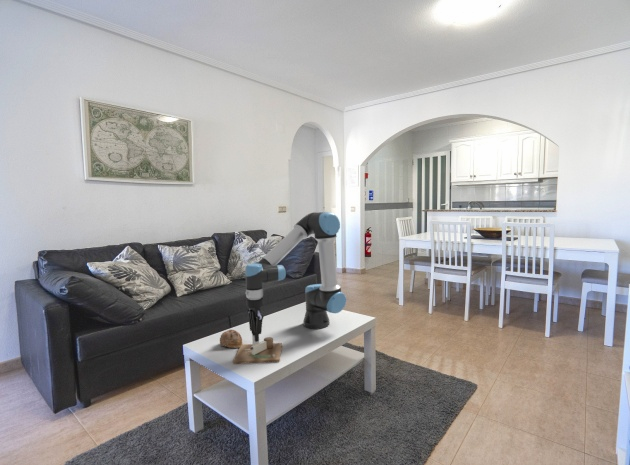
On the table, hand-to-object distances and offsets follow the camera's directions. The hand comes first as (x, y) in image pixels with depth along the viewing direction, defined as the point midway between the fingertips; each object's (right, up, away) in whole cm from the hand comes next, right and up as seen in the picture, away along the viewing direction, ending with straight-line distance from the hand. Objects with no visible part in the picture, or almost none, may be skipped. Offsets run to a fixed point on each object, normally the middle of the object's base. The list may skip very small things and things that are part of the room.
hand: (255, 347), depth 153 cm
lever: (+3, -2, +1) cm, 3 cm away
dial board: (+2, -3, 0) cm, 3 cm away
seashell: (-14, -3, +11) cm, 19 cm away
